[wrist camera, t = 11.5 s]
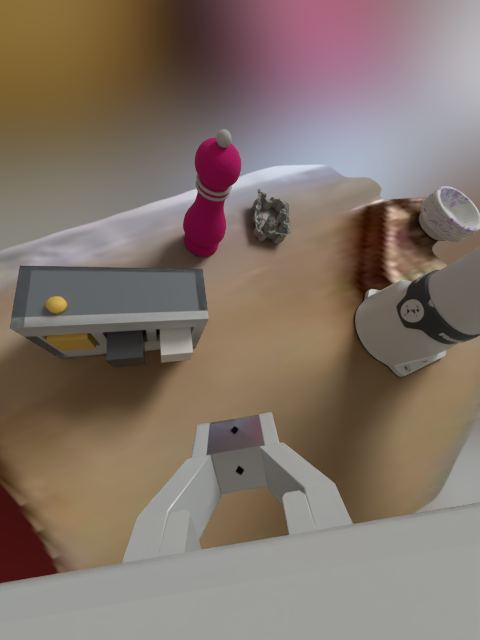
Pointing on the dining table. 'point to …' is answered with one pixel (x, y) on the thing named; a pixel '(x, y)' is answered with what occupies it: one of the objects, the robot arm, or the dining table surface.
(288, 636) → the robot arm
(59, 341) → the amber button
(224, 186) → the pepper mill
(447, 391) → the dining table surface
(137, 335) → the black button
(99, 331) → the console
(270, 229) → the egg carton
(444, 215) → the paper bowls
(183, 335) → the white button
